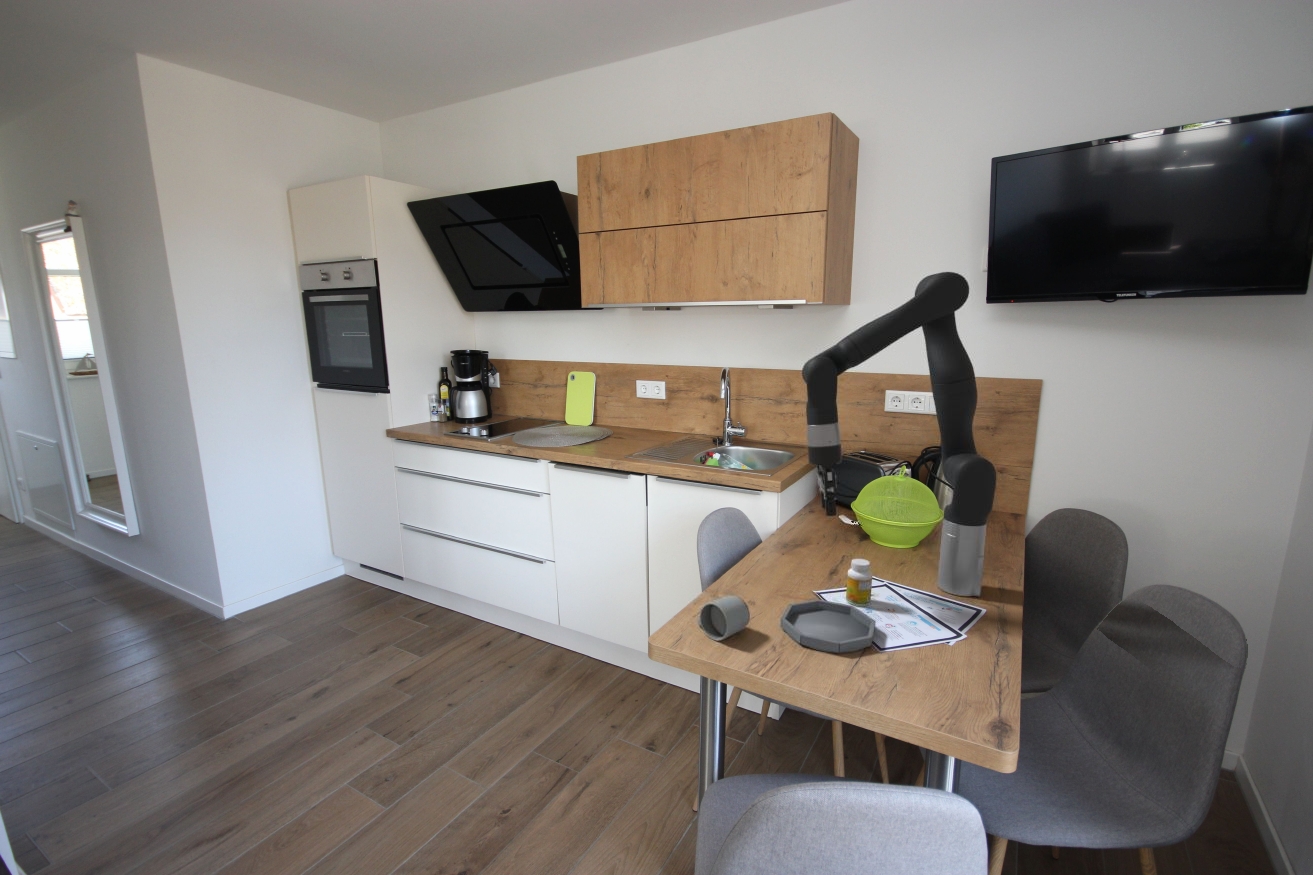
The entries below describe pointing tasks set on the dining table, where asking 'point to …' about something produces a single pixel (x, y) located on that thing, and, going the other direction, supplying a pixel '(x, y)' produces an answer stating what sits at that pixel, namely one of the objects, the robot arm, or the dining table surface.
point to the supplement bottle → (859, 583)
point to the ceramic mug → (724, 617)
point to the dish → (828, 626)
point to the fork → (847, 520)
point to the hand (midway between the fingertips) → (828, 511)
